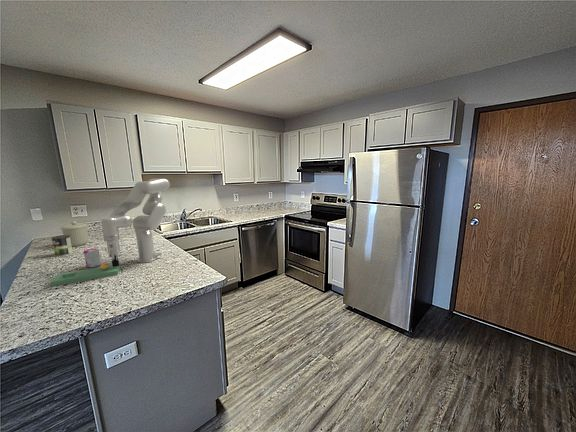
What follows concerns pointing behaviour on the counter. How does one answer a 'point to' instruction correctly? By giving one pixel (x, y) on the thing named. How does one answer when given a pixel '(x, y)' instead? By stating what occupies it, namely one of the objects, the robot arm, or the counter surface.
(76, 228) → the canister
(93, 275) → the green
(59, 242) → the coffee can
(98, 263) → the supplement box
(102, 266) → the ball
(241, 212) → the counter surface
